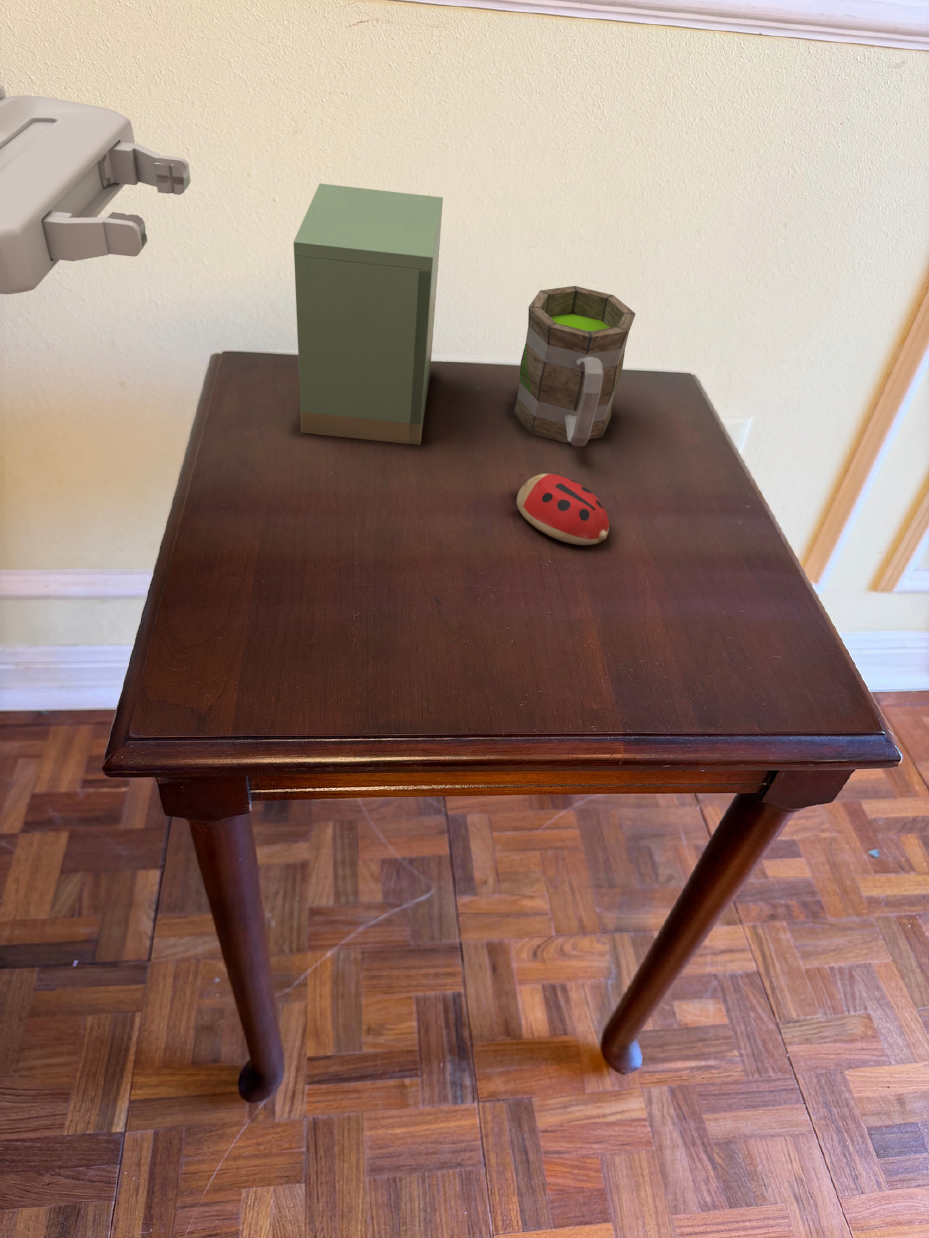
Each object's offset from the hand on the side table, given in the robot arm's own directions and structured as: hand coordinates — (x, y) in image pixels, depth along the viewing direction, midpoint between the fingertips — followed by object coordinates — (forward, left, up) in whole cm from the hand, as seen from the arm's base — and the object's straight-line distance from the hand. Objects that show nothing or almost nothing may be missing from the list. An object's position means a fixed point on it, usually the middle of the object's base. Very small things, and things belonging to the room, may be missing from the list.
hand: (166, 205), depth 54 cm
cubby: (+9, +29, -30) cm, 42 cm away
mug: (+30, +28, -30) cm, 51 cm away
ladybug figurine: (+29, +12, -30) cm, 43 cm away
